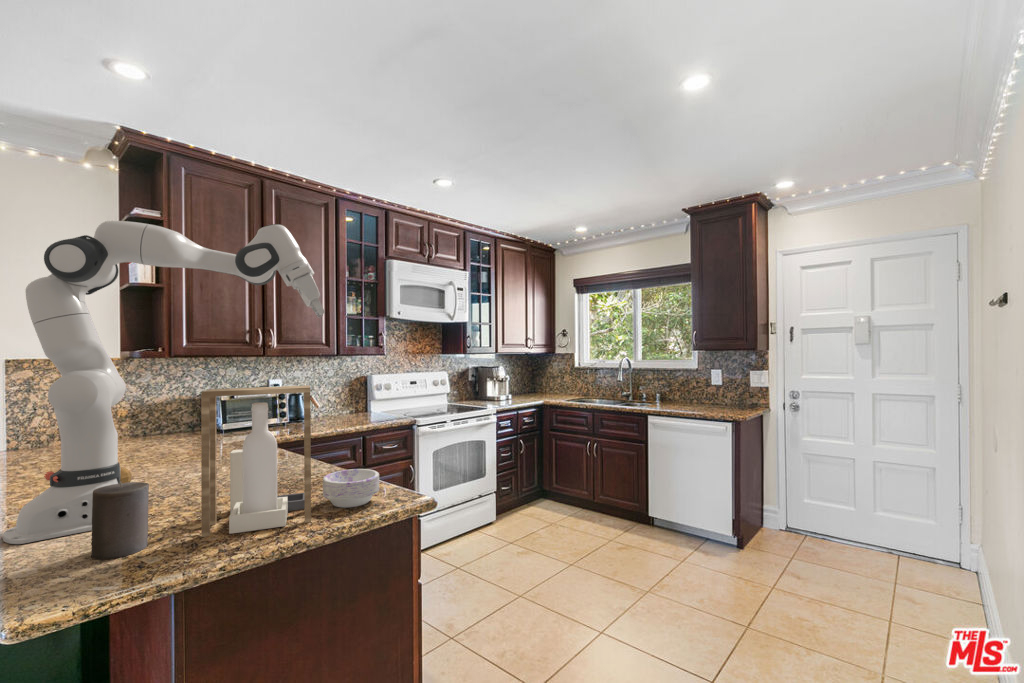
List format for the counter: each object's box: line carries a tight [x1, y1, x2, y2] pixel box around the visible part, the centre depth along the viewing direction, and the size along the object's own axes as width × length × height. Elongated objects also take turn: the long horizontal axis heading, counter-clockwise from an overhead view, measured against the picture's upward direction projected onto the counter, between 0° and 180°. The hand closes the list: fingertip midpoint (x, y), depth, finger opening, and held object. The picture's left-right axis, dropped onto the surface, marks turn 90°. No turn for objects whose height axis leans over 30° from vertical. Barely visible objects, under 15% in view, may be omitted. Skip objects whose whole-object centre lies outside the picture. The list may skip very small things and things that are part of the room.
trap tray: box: [277, 492, 305, 512], centre depth 132 cm, size 8×14×2 cm, turn 113°
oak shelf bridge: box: [200, 384, 312, 538], centre depth 121 cm, size 10×24×34 cm, turn 113°
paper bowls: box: [322, 468, 380, 509], centre depth 136 cm, size 15×15×8 cm
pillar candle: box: [90, 481, 150, 561], centre depth 105 cm, size 10×10×15 cm
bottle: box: [242, 402, 278, 514], centre depth 121 cm, size 8×8×30 cm
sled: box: [228, 449, 289, 535], centre depth 125 cm, size 22×14×16 cm, turn 23°
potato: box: [119, 466, 133, 484], centre depth 153 cm, size 10×14×8 cm
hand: (321, 315), depth 148 cm, fingers open, 8 cm apart
